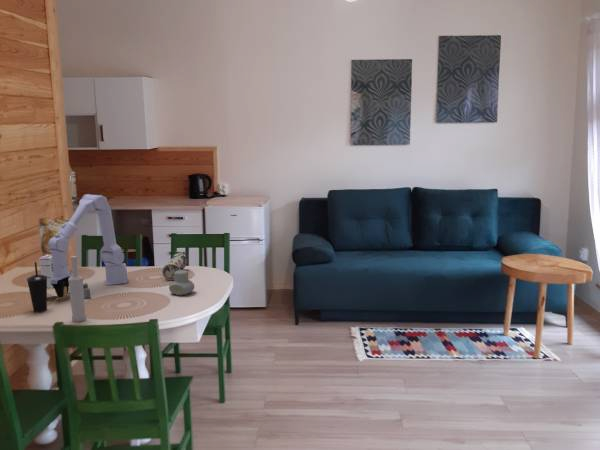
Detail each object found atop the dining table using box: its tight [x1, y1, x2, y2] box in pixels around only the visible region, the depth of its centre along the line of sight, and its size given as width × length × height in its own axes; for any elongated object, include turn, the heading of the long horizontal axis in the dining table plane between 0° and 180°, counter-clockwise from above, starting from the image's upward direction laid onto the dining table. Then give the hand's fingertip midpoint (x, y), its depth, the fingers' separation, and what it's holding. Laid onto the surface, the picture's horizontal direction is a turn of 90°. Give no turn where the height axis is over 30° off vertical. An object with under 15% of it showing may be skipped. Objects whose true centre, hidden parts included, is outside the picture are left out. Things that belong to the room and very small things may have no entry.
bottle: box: [68, 255, 87, 323], centre depth 213 cm, size 5×5×25 cm
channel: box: [83, 282, 92, 300], centre depth 244 cm, size 6×12×4 cm, turn 27°
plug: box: [47, 286, 68, 301], centre depth 240 cm, size 9×4×5 cm, turn 117°
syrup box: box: [39, 255, 54, 289], centre depth 259 cm, size 6×6×14 cm
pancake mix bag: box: [37, 217, 70, 257], centre depth 278 cm, size 7×19×28 cm, turn 65°
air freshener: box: [168, 269, 195, 296], centre depth 246 cm, size 11×8×10 cm
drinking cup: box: [26, 262, 48, 313], centre depth 225 cm, size 8×8×20 cm
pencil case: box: [161, 251, 188, 281], centre depth 275 cm, size 22×8×10 cm, turn 2°
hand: (62, 295), depth 241 cm, fingers closed on plug, 4 cm apart
